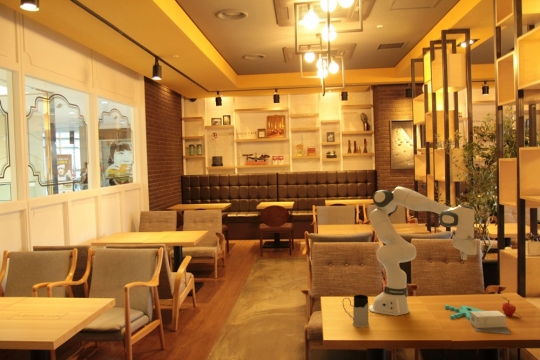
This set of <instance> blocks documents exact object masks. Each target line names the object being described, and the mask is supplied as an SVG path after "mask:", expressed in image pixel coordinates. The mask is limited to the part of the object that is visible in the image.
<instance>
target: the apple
mask: <svg viewBox="0 0 540 360" xmlns="http://www.w3.org/2000/svg"><path fill="white" fill-rule="evenodd" d="M503 299H504V300H506V301H507V302H503V303H502V306H501V307H502V308H501V309H502V311H503V314H504V315H505V316H506V317H507V316H509V317H512V316H513V315H514V314H515V312H516V310H517V308H516V306H515V305H514V304H512V303H510V300H508V298H507V297H503Z"/></svg>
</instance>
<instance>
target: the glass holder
mask: <svg viewBox="0 0 540 360" xmlns="http://www.w3.org/2000/svg"><path fill="white" fill-rule="evenodd" d="M345 299H348V301H349V303H350V307H353V311H352V312H353V313H352V314H353V316H352V315H351V314H350V313H349V312H348V311H347V309H346V308H345V305H344V304H345V303H342V307H343V309H344V312H345V313H347V315H348V316H349V317H350V318H352V321H353V322H352V326H353V327H355V328H367V326H368V327H369V326H370V323H369V296H367V295H365V294H355V295H353V305H352V301H351V299H350V298H349V297H344V298H343V299H342V301H345Z"/></svg>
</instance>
